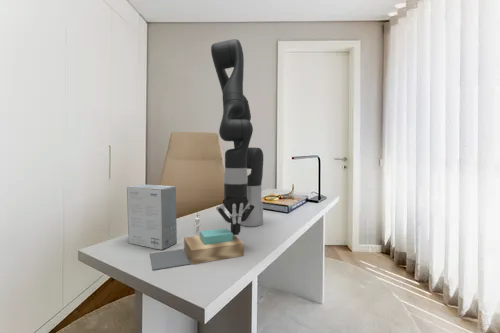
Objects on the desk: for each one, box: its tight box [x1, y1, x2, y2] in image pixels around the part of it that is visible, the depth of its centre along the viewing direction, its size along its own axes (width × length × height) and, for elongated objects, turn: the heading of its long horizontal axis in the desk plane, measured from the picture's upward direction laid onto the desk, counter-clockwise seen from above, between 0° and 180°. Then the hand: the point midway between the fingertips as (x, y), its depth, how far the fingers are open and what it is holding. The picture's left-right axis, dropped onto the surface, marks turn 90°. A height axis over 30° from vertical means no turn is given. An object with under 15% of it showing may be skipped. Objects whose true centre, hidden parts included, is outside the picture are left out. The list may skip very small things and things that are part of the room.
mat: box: [149, 248, 191, 271], centre depth 81 cm, size 10×12×1 cm
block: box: [199, 227, 233, 245], centre depth 87 cm, size 9×6×2 cm, turn 114°
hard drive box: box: [126, 183, 178, 251], centre depth 94 cm, size 16×8×20 cm, turn 66°
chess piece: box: [194, 212, 201, 236], centre depth 97 cm, size 5×5×10 cm
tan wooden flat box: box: [183, 235, 245, 265], centre depth 87 cm, size 16×12×4 cm
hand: (235, 234), depth 89 cm, fingers closed
